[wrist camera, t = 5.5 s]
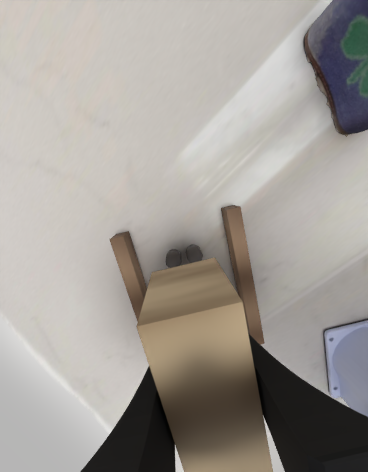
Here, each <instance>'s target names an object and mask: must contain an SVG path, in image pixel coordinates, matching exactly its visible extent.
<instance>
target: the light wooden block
mask: <svg viewBox="0 0 368 472" xmlns="http://www.w3.org/2000/svg"><path fill="white" fill-rule="evenodd" d="M137 329H138V333H139V336H140V339H141V342H142V345H143V348H144V351H145V354H146V357H147V360H148V363H149V366H150V369H151V372H152V375H153V378H154V381H155V384H156V387H157V390H158V393H159V396H160V399H161V403H162V406H163V409H164V412H165V415H166V418H167V421H168V424H169V427H170V430H171V433H172V436H173V439H174V442H175V445H176V448H177V451H178V454H179V457H180V460H181V463H182V466H183V469H184V472H273V469H272V464H271V458H270V452H269V447H268V441H267V435H266V430H265V424H264V419H263V413H262V407H261V402H260V396H259V391H258V385H257V380H256V374H255V368H254V363H253V357H252V352H251V346H250V340H249V335H248V329H247V324H246V318H245V313H244V307H243V302H242V300H241V299H240V297H239V295H238V294H237V292H236V291H235V289H234V287H233V286H232V284H231V283H230V281H229V279H228V278H227V276H226V275H225V273H224V271H223V270H222V268H221V267H220V265H219V263H218V262H217V260H216V259H215V258H211V259H207V260H202V261H198V262H194V263H190V264H185V265H181V266H177V267H173V268H168V269H164V270H160V271H156V272H152V274H151V277H150V281H149V284H148V288H147V291H146V295H145V299H144V302H143V306H142V309H141V313H140V316H139V320H138V323H137Z"/></svg>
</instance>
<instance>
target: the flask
mask: <svg viewBox="0 0 368 472" xmlns="http://www.w3.org/2000/svg"><path fill="white" fill-rule="evenodd" d="M305 52H306V56H307V60H308V62H309V63H310V62H312V65H313V68H314V71H315V75H316V76H317V77H316V80H317V82H318V85H317V86H319V88H320V91H322V93H323V92H324V94H325V95H326V96H327V97H328V102H327V104H326V105H328V106H329V107H330V108H331V110H332V117H331V118H333V120H334V124H335V126H336V131H337V132H339V133H341V134H344V135H345V136H346V137H347V135H348V134H352V133H359V132H362V131H365V130H368V0H333V1H332V2H331V3H330V4H329V5H328V7H327V8H326V9H325V10H324V11H323V13H322V14H321V15H320V16H319V17H318V18H317V20H316V21H315V22H314V23H313V24H312V25H311V27H310V28H309V30H308V32H307V34H306V35H305Z"/></svg>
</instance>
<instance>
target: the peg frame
mask: <svg viewBox="0 0 368 472" xmlns="http://www.w3.org/2000/svg"><path fill="white" fill-rule="evenodd" d="M221 211H222V216H223V221H224V226H225V231H226V236H227V241H228V246H229V251H230V256H231V261H232V266H233V271H234V276H235V281H236V286H237V291H238V295H239V297H240V299H241V300H242V302H243V307H244V313H245V318H246V324H247V329H248V333H249V334H250V335H251V336H252V337H253V338H254V339H255V340H256V341H257V342H258V343H259V344H264V338H263V332H262V327H261V321H260V315H259V310H258V304H257V298H256V293H255V287H254V281H253V276H252V270H251V264H250V259H249V253H248V247H247V241H246V236H245V230H244V224H243V219H242V213H241V207H240V206H235V205H232V206H228V207H224V208H221ZM110 242H111V245H112V248H113V251H114V254H115V257H116V260H117V263H118V266H119V269H120V271H121V274H122V277H123V280H124V283H125V286H126V289H127V292H128V295H129V298H130V301H131V304H132V307H133V309H134V312H135V315H136V318H137V321H138V320H139V316H140V313H141V309H142V306H143V302H144V299H145V295H146V291H147V288H146V285H145V281H144V278H143V275H142V272H141V269H140V266H139V262H138V259H137V256H136V253H135V250H134V247H133V243H132V240H131V237H130V234H129V231H128V232H124V233H120V234H116V235H115V236H113V237H112V238H111V239H110ZM186 253H187V258H188V261H189V262H190V263H194V262H198V261H201V260H202V257H203V255H202V252H201V250H200V248H199V247H198V246H197V245H190V246H189V247H188V248H187V250H186ZM166 265H167V266H168V267H169V268H173V267H177V266H180V265H181V254H180V253H179V251H177V250H170V251H169V252H168V253H167V257H166Z"/></svg>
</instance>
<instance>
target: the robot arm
mask: <svg viewBox="0 0 368 472" xmlns="http://www.w3.org/2000/svg"><path fill="white" fill-rule="evenodd" d="M248 335H249V340H250V346H251V352H252V357H253V363H254V368H255V374H256V380H257V385H258V391H259V396H260V402H261V407H262V413H263V416H264V418H265V420H266V423H267V425H268V428H269V430H270V433H271V435H272V438H273V441H274V443H275V446H276V449H277V451H278V454H279V456H280V459H281V462H282V465H283V468H284V470H285V472H368V320H367V321H363V322H358V323H354V324H350V325H346V326H342V327H338V328H334V329H329V330H327V331H325V334H324V335H325V346H326V357H327V368H328V379H329V390H330V394H331V396H332V397H333V398H338V397H342V398H343V400H344V401H345V402H346V403H347V404H348V406H349V407H350V408H349V407H347V406H345V405H343V404H341V403H340V402H338V401H336V400H334V399H333V398H331V397H329V396H328V395H326V394H324V393H323V392H321V391H320V390H318V389H316V388H315V387H313V386H311V385H310V384H308V383H307V382H306V381H304V380H303V379H301V378H300V377H298V376H297V375H296V374H294V373H293V372H291V371H290V370H289V369H288V368H286V367H285V366H284V365H282V364H281V363H280V362H279V361H278V360H276V359H275V358H274V357H273V356H272V355H271V354H269V353H268V352H267V351H266V350H265V349H264V348H263V347H262V346H261V345H260V344H259V343H258V342H257V341H256V340H255V339H254V338H253V337H252V336H251V335H250V334H249V333H248ZM81 472H175V442H174V439H173V436H172V433H171V430H170V427H169V424H168V421H167V418H166V415H165V412H164V409H163V406H162V403H161V399H160V396H159V393H158V390H157V387H156V384H155V381H154V378H153V375H152V372H151V369H150V366H149V367H148V369H147V371H146V373H145V375H144V378H143V380H142V382H141V384H140V386H139V387H138V389H137V391H136V393H135V395H134V397H133V399H132V400H131V402H130V404H129V406H128V407H127V409H126V410H125V412H124V414H123V415H122V417H121V418H120V420H119V421H118V423H117V424H116V426H115V427H114V429H113V430H112V432H111V433H110V435H109V436H108V437H107V439H106V440H105V442H104V443H103V444H102V446H101V447H100V448H99V449H98V451H97V452H96V453H95V455H94V456H93V457H92V458H91V460H90V461H89V462H88V463H87V465H86V466H85V467H84V468H83V469H82V471H81Z"/></svg>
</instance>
